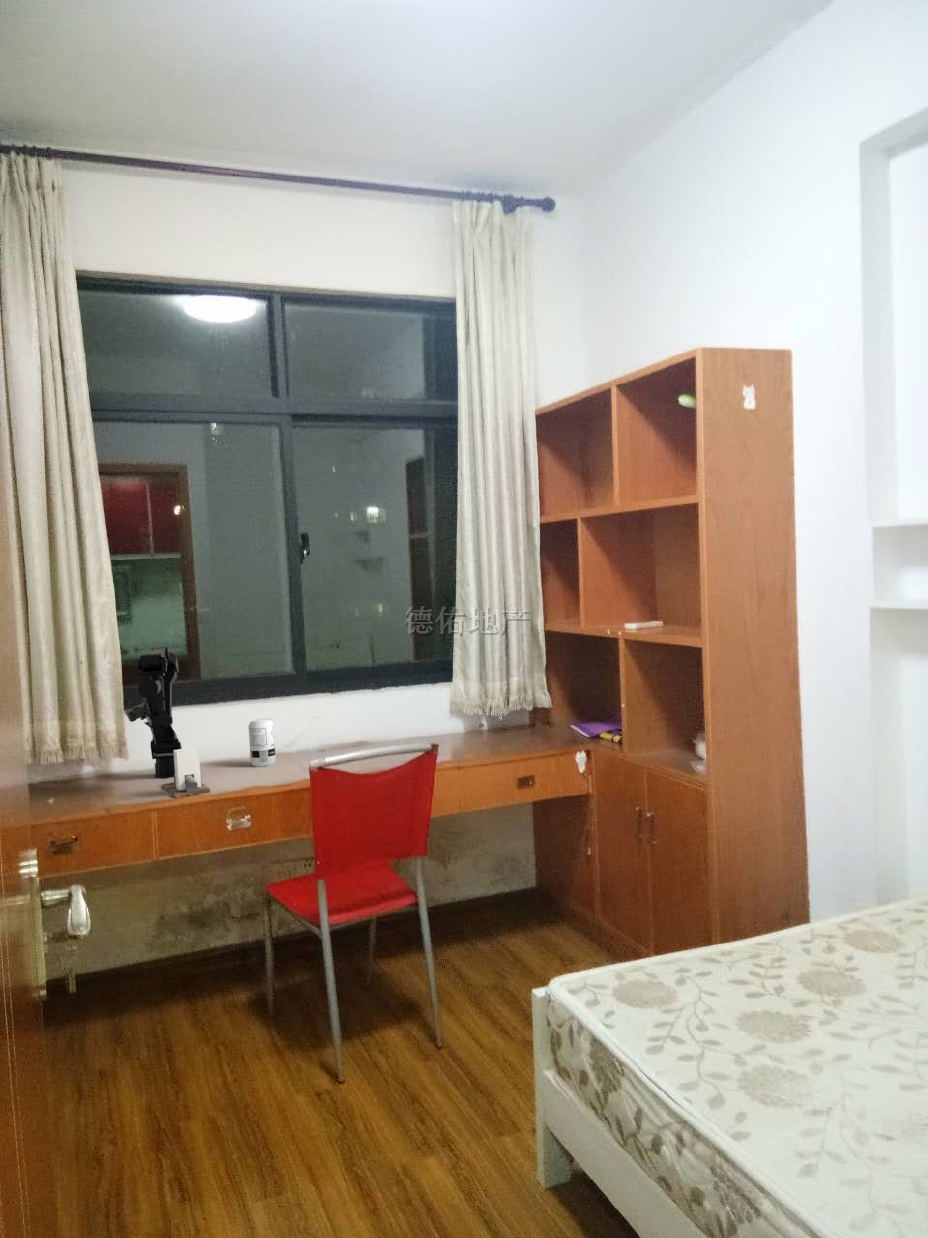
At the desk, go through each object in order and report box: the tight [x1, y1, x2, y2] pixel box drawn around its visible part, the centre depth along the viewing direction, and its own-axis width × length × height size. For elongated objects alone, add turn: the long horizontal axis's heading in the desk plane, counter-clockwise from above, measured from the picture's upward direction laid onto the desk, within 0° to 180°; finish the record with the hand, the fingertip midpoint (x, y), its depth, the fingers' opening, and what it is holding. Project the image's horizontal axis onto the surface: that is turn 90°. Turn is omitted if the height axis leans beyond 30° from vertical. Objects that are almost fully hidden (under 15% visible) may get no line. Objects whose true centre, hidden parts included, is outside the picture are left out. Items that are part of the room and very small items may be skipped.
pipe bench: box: [162, 774, 211, 798], centre depth 264 cm, size 17×10×5 cm, turn 31°
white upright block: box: [173, 746, 202, 791], centre depth 260 cm, size 4×6×11 cm, turn 121°
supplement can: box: [247, 718, 277, 768], centre depth 294 cm, size 8×8×15 cm
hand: (157, 745), depth 269 cm, fingers closed
